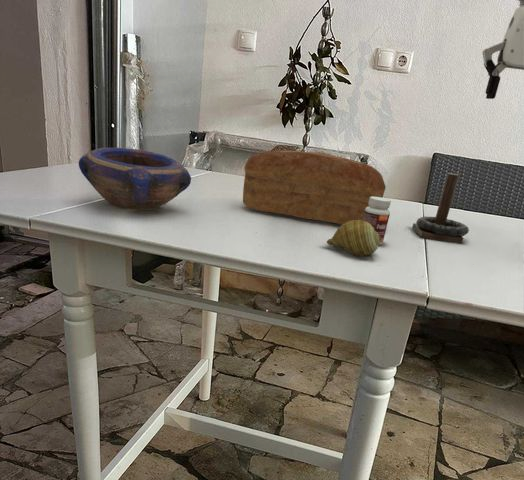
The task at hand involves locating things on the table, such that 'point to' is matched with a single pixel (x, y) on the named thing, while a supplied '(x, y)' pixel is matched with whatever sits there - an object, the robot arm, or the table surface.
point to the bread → (310, 185)
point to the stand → (442, 211)
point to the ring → (442, 227)
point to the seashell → (356, 238)
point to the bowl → (134, 177)
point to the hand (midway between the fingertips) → (513, 101)
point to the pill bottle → (378, 215)
